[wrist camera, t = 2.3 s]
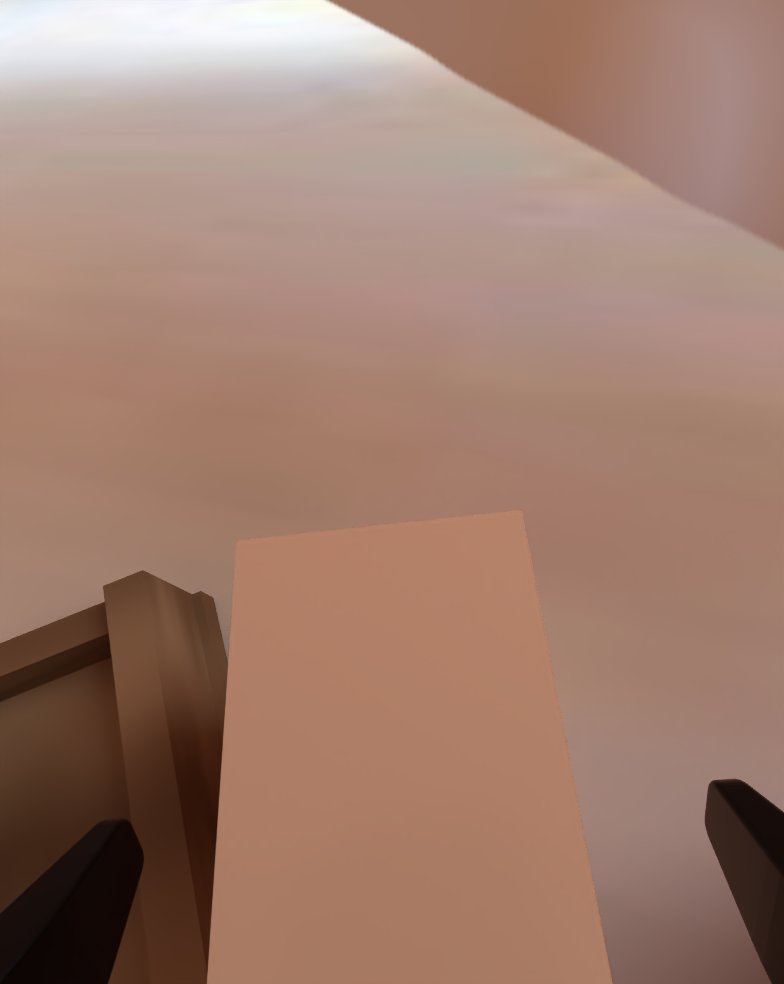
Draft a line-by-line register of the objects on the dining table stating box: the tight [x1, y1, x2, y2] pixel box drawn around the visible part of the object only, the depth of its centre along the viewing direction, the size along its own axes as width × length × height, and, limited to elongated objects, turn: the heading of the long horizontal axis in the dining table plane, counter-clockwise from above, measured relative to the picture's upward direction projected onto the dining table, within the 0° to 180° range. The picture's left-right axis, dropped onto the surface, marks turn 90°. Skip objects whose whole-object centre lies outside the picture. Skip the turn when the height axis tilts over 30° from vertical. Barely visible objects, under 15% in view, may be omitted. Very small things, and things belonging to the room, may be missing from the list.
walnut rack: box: [0, 570, 228, 984], centre depth 13 cm, size 13×9×4 cm
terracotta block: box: [207, 510, 613, 984], centre depth 11 cm, size 8×4×10 cm, turn 4°
